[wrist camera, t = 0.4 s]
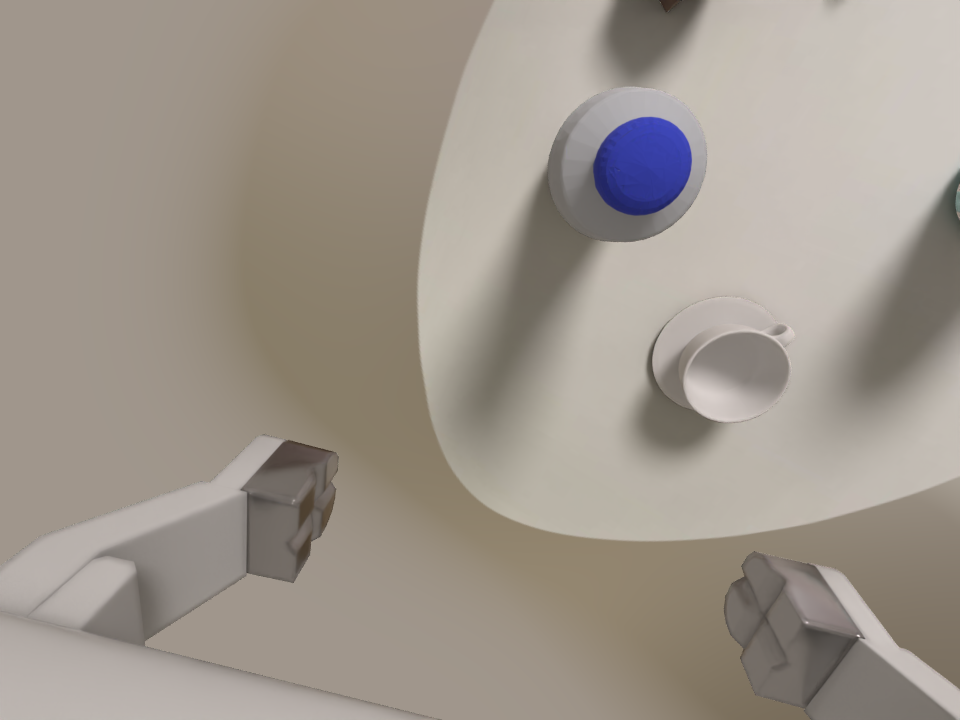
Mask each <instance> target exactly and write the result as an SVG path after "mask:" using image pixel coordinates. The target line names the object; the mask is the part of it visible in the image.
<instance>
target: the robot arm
mask: <svg viewBox="0 0 960 720" xmlns="http://www.w3.org/2000/svg"><path fill="white" fill-rule="evenodd" d="M338 458H339V457H338V455H337V453H336V452H332V451H328V450H325V449H321V448H317V447H313V446H309V445H305V444H302V443H298V442H294V441H290V440H288V441H287V440H285V439H281V438H277V437H273V436H269V435H265V434H263V435H260V436H257V437H256V438H255V439H254V440H253V441H252V442H251V443H250V444H249V445H248V446H247V447H246V448H244V449H243V451H241V452H240V453H239V454H238V455H237V456H236V457H235V458H234V459H233V460H232V461H231V462H230V463H229V464H228V465H227V466H226V467H225V468H224V469H223V470H222V471H221V472H220V473H219V474H218V475H217V476H216V477H215V478H214V479H213V480H212V481H211V482H210V483H207V482H203V481H200V482H198V483H194V484H192V485H188V486H186V487H183V488H180V489H177V490H174V491H171V492H168V493H165V494H162V495H159V496H156V497H153V498H151V499H148V500H144V501H141V502H138V503H136V504H133V505H130V506H127V507H124V508H121V509H118V510H115V511H112V512H109V513H106V514H103V515H100V516H98V517H94V518H91V519H89V520H86V521H83V522H80V523H77V524H74V525H71V526H68V527H65V528H62V529H59V530H56V531H53V532H50V533H47V534H44V535H42V536H39V537H38V538H37V539H35V540H34V541H33V542H31V543H30V544H29V545H27V546H26V547H25V548H23V549H22V550H21V551H19V552H18V553H17V554H16V555H14V556H13V557H12V558H10V559H9V560H7V561H6V562H5V563H3V564H2V565H1V566H0V720H440V719H436V718H432V717H428V716H424V715H420V714H416V713H412V712H408V711H404V710H400V709H396V708H392V707H388V706H384V705H380V704H376V703H372V702H367V701H364V700H360V699H356V698H351V697H348V696H343V695H340V694H336V693H331V692H327V691H323V690H319V689H315V688H311V687H307V686H303V685H299V684H295V683H291V682H287V681H283V680H279V679H275V678H271V677H266V676H263V675H259V674H255V673H251V672H247V671H242V670H239V669H234V668H231V667H226V666H222V665H218V664H214V663H210V662H206V661H202V660H198V659H194V658H190V657H186V656H182V655H178V654H174V653H170V652H166V651H161V650H158V649H154V648H150V647H146V646H145V641H146V640H147V639H149V638H150V637H152V636H154V635H155V634H157V633H158V632H160V631H161V630H163V629H164V628H166V627H167V626H169V625H171V624H172V623H174V622H175V621H177V620H178V619H180V618H181V617H183V616H185V615H186V614H188V613H189V612H191V611H192V610H194V609H196V608H197V607H199V606H200V605H202V604H203V603H205V602H207V601H208V600H210V599H211V598H213V597H214V596H216V595H217V594H219V593H220V592H222V591H224V590H225V589H227V588H228V587H230V586H231V585H233V584H235V583H236V582H238V581H239V580H241V579H242V578H244V577H245V576H246V573H249V574H254V575H258V576H263V577H268V578H273V579H278V580H282V581H287V582H291V583H294V581H295V579H296V578H297V576H298V574H299V573H300V571H301V569H302V567H303V566H304V564H305V562H306V561H307V559H308V557H309V556H310V549H311V541H313V540H315V539H317V538H319V537H320V536H321V535H322V533H323V531H324V529H325V527H326V525H327V523H328V520H329V518H330V515H331V512H332V509H333V504H334V500H335V492H336V488H335V487H334V485H333V483H332V482H331V480H332V479H333V477H334V476H335V474H336V473H337V471H338ZM741 567H742V570H743V573H744V577H742V578H741V579H738V580H737V581H735V582H733V583H732V584H731V586H730V588H729V590H728V592H727V594H726V596H725V604H724V614H725V620H726V624H727V627H728V630H729V632H730V635H731V636H732V637H733V638H734V639H735V640H736V641H737V642H738V643H739V644H740V645H741V646H742V647H743V652H742V655H741V657H740V659H741V661H742V664H743V667H744V669H745V671H746V674H747V676H748V679H749V681H750V683H751V686H752V688H753V691H754V693H755V695H757V696H761V697H764V698H768V699H772V700H775V701H779V702H783V703H786V704H790V705H794V706H798V707H801V708H805V710H804V712H805V713H806V714H807V715H808V716H809V718H810V719H811V720H960V689H959V688H957V687H956V686H955V685H953V684H952V683H951V682H949V681H948V680H947V679H945V678H944V677H943V676H941V675H940V674H939V673H938V672H936V671H935V670H934V669H932V668H931V667H930V666H928V665H927V664H926V663H924V662H923V661H922V660H921V659H919V658H918V657H916V656H915V655H914V654H913V653H911V652H910V651H909V650H907V649H903V648H899V647H898V646H897V644H896V643H895V642H894V640H893V639H892V638H891V636H890V635H889V634H888V632H887V631H886V630H885V628H884V627H883V626H882V625H881V623H880V622H879V621H878V619H877V618H876V617H875V615H874V614H873V612H872V611H871V610H870V608H869V607H868V606H867V605H866V603H865V602H864V600H863V599H862V598H861V596H860V595H859V594H858V592H857V591H856V590H855V588H854V587H853V586H852V585H851V583H850V582H849V581H848V579H847V578H846V576H845V575H844V574H842V573H841V572H839V571H838V570H837V569H835V568H830V567H825V566H821V565H816V564H811V563H802V562H798V561H794V560H789V559H785V558H781V557H776V556H772V555H768V554H764V553H759V552H755V551H754V552H753V553H751V554H750V555H748V556H747V558H746V559H745V561H744V563H743V564H742V566H741Z"/></svg>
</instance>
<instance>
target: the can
mask: <svg viewBox="0 0 960 720" xmlns="http://www.w3.org/2000/svg"><path fill="white" fill-rule="evenodd" d="M956 212H957V215H958V218H959V220H960V183H959V186H958V189H957V194H956Z"/></svg>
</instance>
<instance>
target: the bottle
mask: <svg viewBox="0 0 960 720" xmlns="http://www.w3.org/2000/svg"><path fill="white" fill-rule="evenodd" d="M706 163H707V146H706V141H705V137H704V133H703V130H702V128H701V126H700V124H699V121H698V119H697V118H696V116H695V115H694V114H693V112H692V111H691V110H690V108H689V107H688V106H687V105H686V104H685V103H683V102H682V101H680V100H679V99H677V98H676V97H675V96H673V95H671V94H668V93H666V92H664V91H660V90H657V89H650V88H640V87H620V88H614V89H610V90H607V91H604V92H601V93H599V94H597V95H595V96H593V97H591V98H590V99H588V100H587V101H585V102H584V103H583V104H581V105H580V106H579V107H578V108H577V109H576V110H575V111H574V112H573V113H572V114H571V115H570V116H569V117H568V118H567V119H566V121H565V122H564V124H563V125H562V127H561V128H560V130H559V132H558V134H557V136H556V138H555V140H554V143H553V145H552V149H551V152H550V155H549V160H548V181H549V188H550V192H551V196H552V199H553V202H554V204H555V206H556V208H557V209H558V211H559V213H560V214H561V216H562V217H563V218H564V219H565V220H566V222H567V223H568V224H569V225H570V226H572V227H573V228H574V229H575V230H577V231H578V232H580V233H582V234H584V235H585V236H588V237H590V238H593V239H596V240H600V241H609V242H633V241H639V240H644V239H647V238H650V237H652V236H655V235H657V234H659V233H661V232H663V231H664V230H666V229H668V228H669V227H671V226H672V225H673V224H674V223H676V222H677V221H678V220H679V219H680V218H681V217H682V216H683V215H684V214H685V213H686V211H687V210H688V209H689V208H690V207H691V205H692V203H693V202H694V200H695V199H696V197H697V195H698V193H699V191H700V188H701V185H702V183H703V180H704V176H705V172H706Z"/></svg>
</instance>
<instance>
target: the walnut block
mask: <svg viewBox="0 0 960 720" xmlns="http://www.w3.org/2000/svg"><path fill="white" fill-rule="evenodd" d="M659 1H660V2H661V4H662V6H663V7H664V9H665V11H666V12H668V11H670V10H671V9H672V8H673V7H674V6H675V5H677V4H678V3H679V2H680V1H681V0H659Z"/></svg>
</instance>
